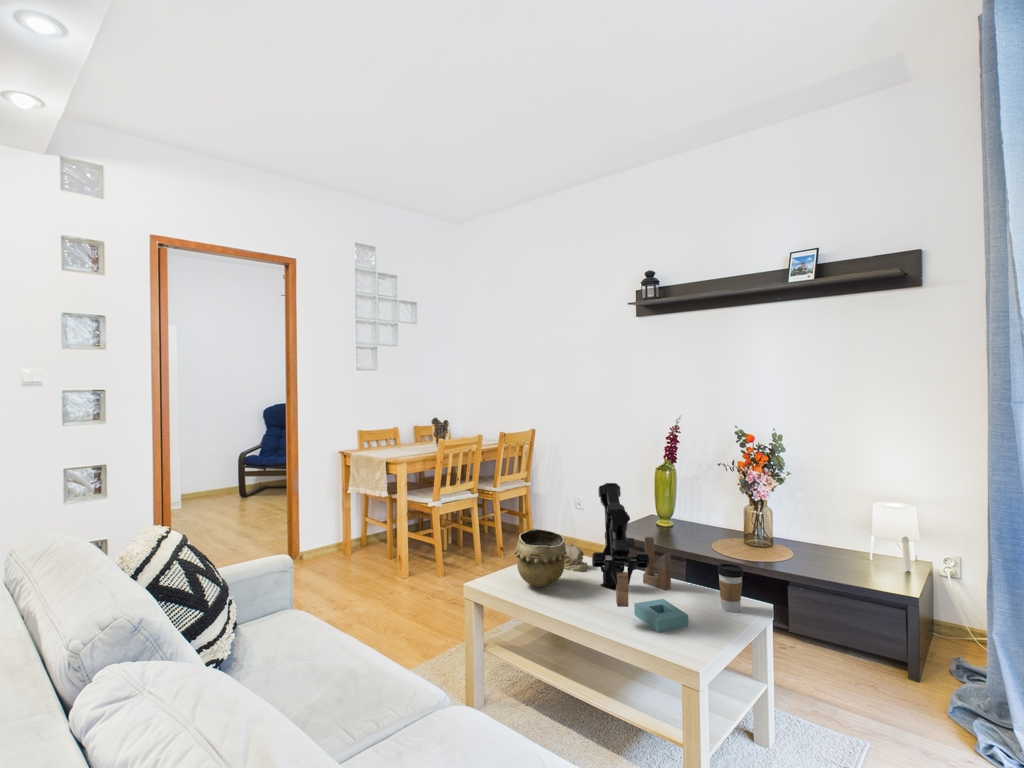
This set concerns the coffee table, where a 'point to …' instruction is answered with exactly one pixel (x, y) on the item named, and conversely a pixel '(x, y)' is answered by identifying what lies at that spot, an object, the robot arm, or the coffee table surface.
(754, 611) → the coffee table surface
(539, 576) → the clay pot
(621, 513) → the robot arm
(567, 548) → the ceramic model
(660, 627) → the teal square hole block
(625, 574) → the square peg
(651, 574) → the wooden block
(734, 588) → the coffee cup
